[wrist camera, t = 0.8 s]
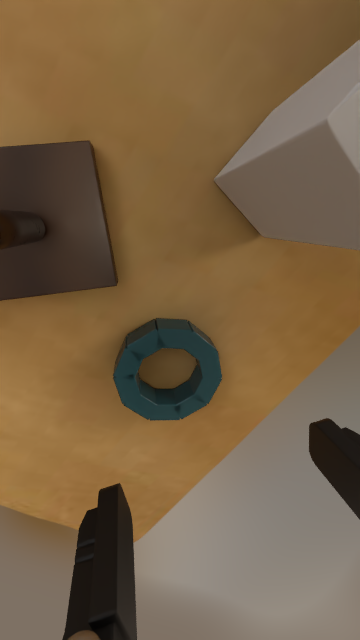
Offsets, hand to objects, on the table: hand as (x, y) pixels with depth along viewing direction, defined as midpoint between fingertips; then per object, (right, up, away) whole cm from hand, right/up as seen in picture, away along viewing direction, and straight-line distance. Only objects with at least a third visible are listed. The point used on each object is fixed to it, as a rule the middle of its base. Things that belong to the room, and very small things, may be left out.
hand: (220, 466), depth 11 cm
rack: (-13, +14, +12) cm, 22 cm away
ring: (-3, +1, +18) cm, 18 cm away
